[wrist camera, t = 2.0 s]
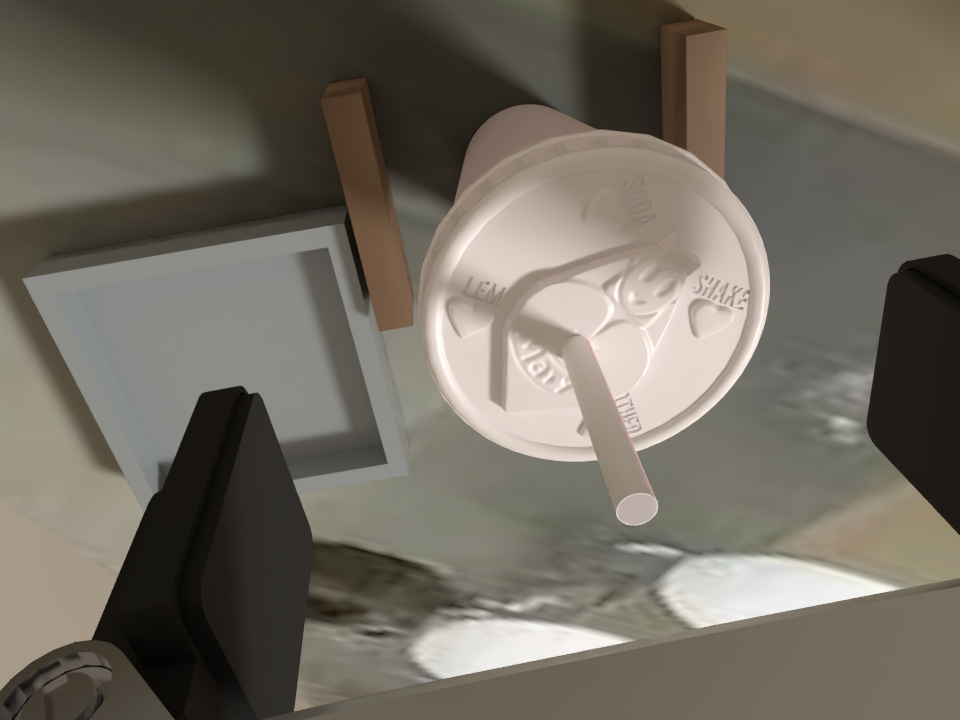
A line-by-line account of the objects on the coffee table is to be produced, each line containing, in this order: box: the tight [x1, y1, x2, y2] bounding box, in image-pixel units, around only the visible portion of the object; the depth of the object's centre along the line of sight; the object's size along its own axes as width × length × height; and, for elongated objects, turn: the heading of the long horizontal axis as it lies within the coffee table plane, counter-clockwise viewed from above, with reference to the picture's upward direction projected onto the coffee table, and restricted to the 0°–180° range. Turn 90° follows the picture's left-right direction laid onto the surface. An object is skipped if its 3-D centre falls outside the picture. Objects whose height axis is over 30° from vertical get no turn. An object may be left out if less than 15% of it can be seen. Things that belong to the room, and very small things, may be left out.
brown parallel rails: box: [320, 19, 727, 331], centre depth 20 cm, size 10×6×2 cm, turn 98°
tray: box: [22, 204, 410, 513], centre depth 23 cm, size 9×9×2 cm
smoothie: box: [418, 104, 770, 525], centre depth 15 cm, size 6×6×14 cm
